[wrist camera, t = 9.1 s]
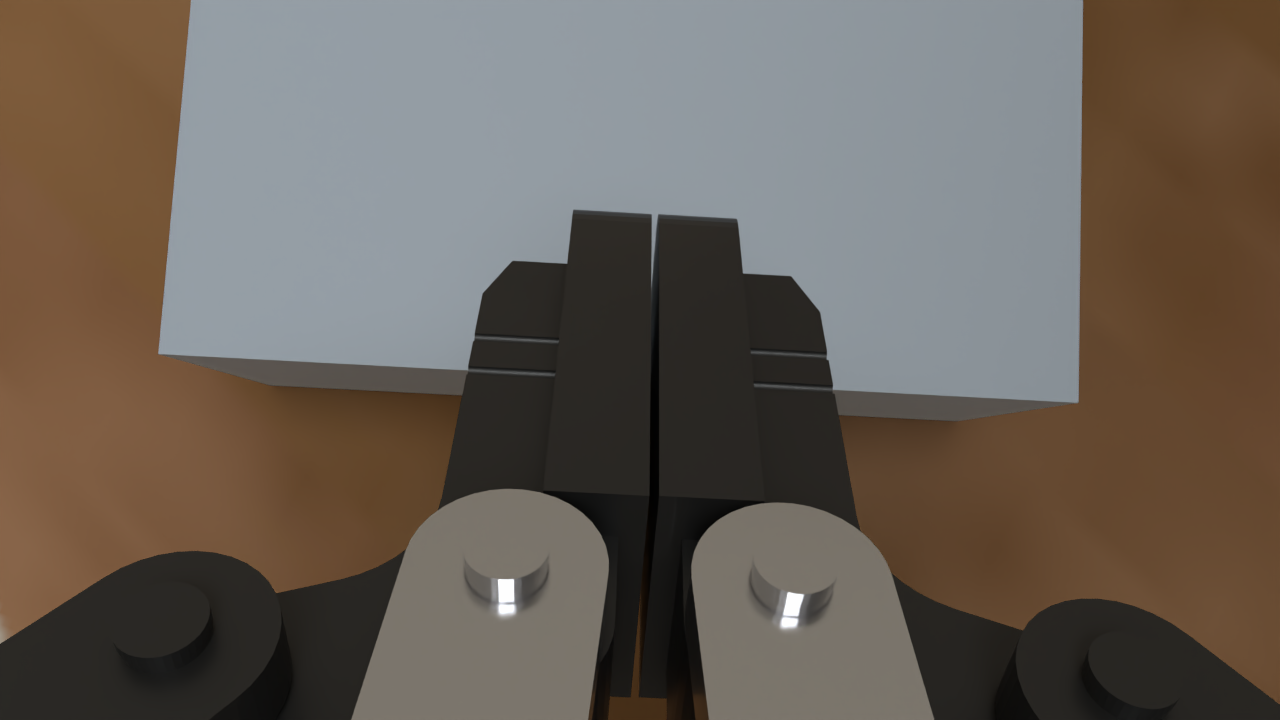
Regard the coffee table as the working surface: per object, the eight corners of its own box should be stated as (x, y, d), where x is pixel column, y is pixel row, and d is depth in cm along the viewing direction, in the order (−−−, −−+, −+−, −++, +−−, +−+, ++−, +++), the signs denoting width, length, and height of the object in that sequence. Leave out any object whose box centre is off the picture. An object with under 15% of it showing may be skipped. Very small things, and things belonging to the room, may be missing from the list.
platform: (957, 421, 24) (1078, 402, 18) (270, 385, 23) (158, 353, 17) (971, -221, 25) (1087, -437, 19) (323, -267, 25) (238, -504, 19)
